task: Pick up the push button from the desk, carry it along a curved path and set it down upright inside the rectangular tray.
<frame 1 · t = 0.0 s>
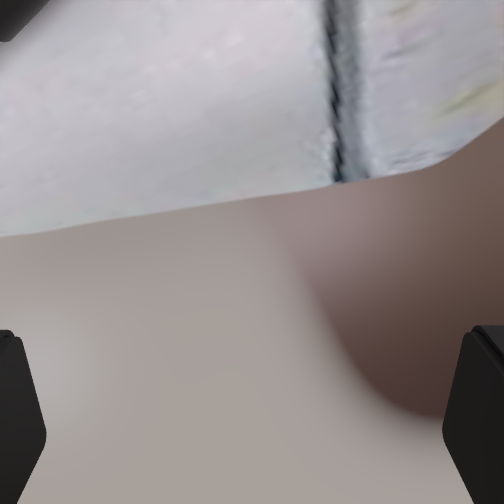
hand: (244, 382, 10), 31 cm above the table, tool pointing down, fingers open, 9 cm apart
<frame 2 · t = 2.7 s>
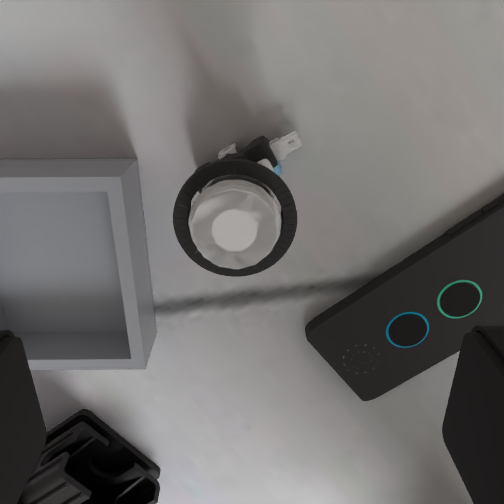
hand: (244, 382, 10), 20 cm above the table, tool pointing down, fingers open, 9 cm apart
rectangular tray: (67, 253, 30), on the table
push button: (248, 161, 28), on the table
end cap: (96, 456, 39), on the table
smart home device: (448, 283, 32), on the table
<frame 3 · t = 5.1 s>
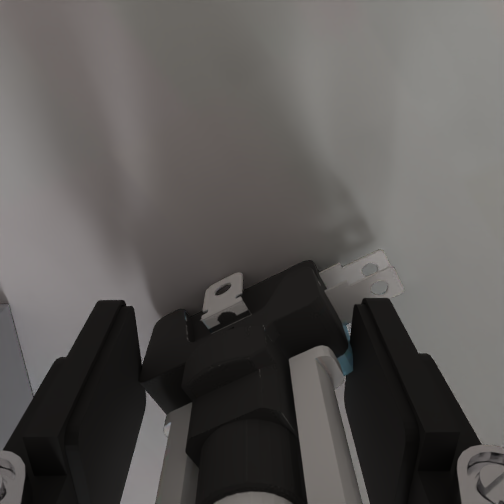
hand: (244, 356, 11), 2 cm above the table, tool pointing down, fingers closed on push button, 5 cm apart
push button: (270, 303, 13), on the table, touching gripper
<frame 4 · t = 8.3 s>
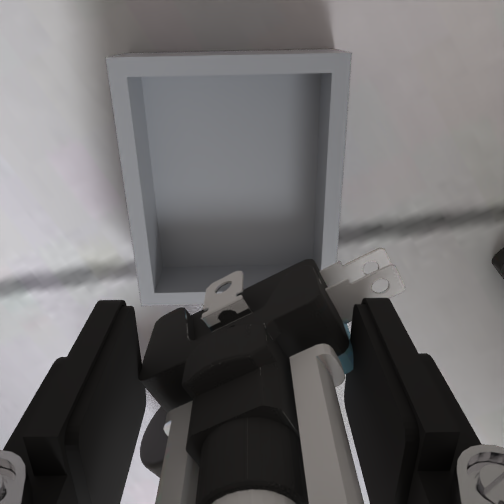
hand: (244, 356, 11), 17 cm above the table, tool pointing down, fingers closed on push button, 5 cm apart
rectangular tray: (235, 171, 26), on the table
push button: (271, 302, 13), point 15 cm above the table, touching gripper
end cap: (230, 415, 35), on the table
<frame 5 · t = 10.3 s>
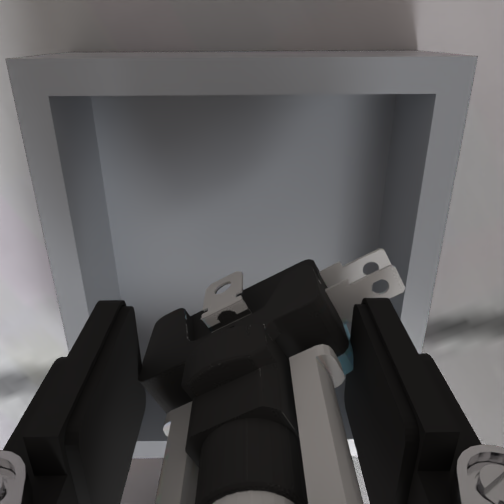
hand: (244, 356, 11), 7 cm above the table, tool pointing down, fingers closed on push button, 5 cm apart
rectangular tray: (245, 241, 17), on the table
push button: (271, 302, 13), point 4 cm above the table, touching gripper
when the fingers open (5 cm above the table, at t = 11.5 s): push button drops 1 cm, resting on rectangular tray.
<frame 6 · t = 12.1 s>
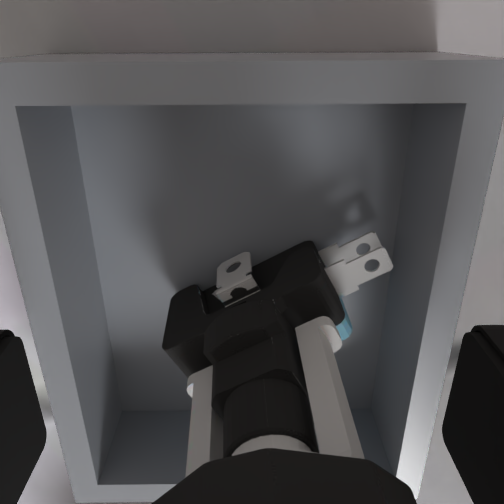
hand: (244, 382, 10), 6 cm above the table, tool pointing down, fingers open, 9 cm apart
rectangular tray: (245, 261, 15), on the table
push button: (273, 278, 14), point 1 cm above the table, touching rectangular tray
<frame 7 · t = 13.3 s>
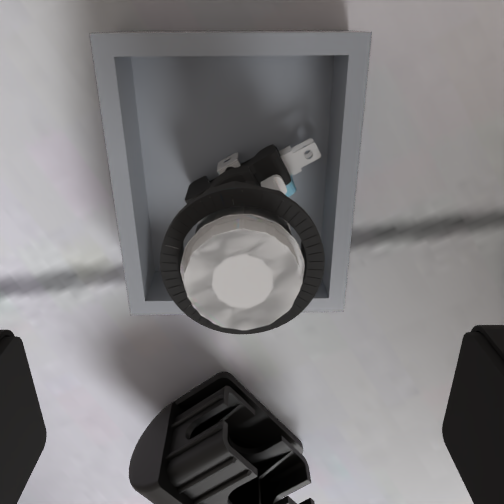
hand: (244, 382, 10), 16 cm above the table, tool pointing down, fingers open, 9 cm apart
rectangular tray: (235, 167, 24), on the table
push button: (253, 174, 23), point 1 cm above the table, touching rectangular tray
end cap: (226, 429, 32), on the table
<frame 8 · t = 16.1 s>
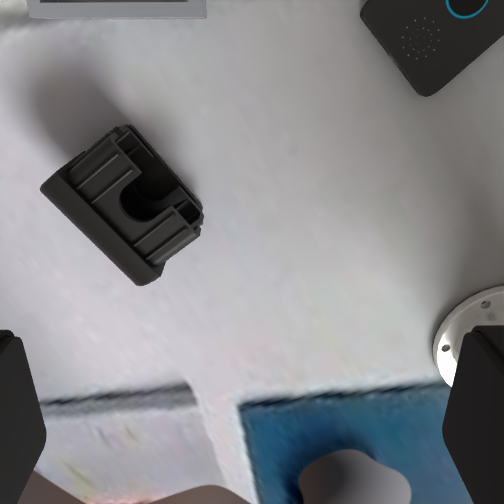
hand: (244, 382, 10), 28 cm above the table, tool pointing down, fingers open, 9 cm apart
end cap: (137, 192, 38), on the table
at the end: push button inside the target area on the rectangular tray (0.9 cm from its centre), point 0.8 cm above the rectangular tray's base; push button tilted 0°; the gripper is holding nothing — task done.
